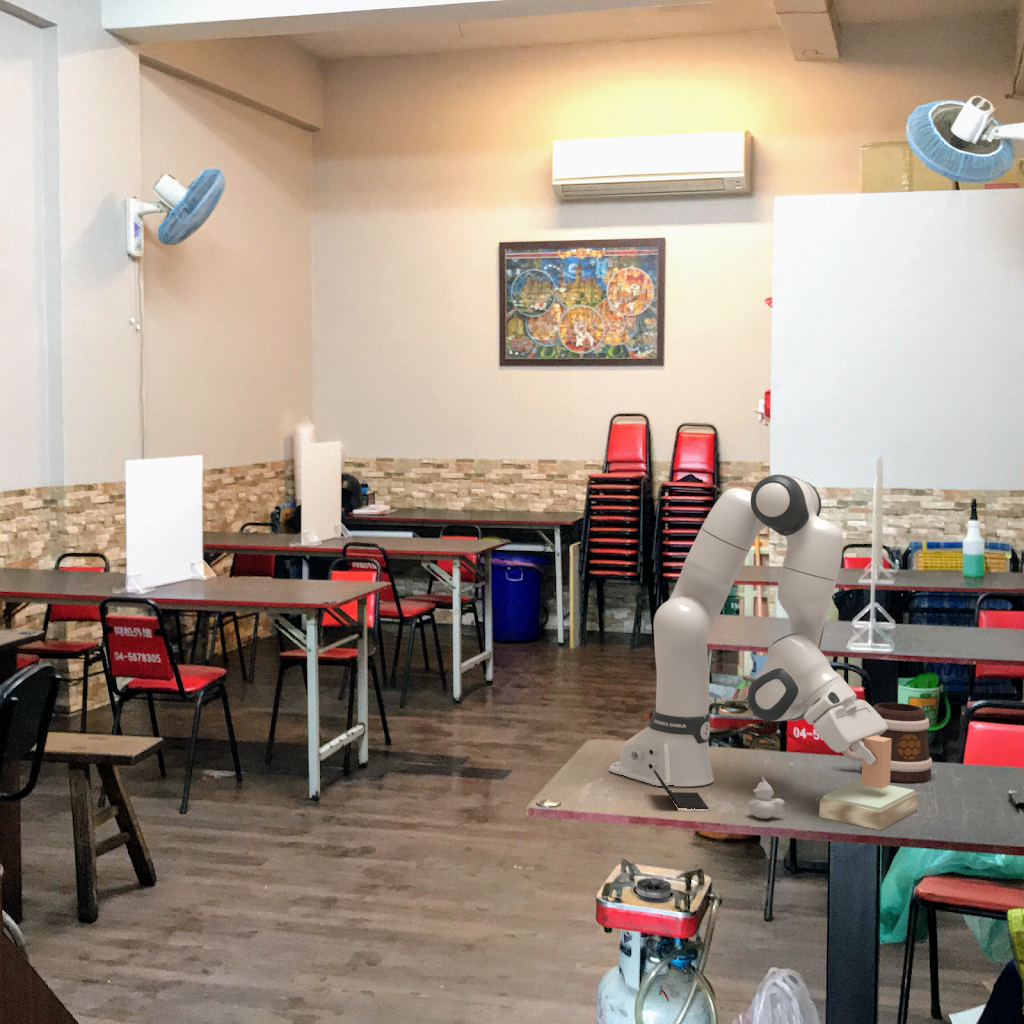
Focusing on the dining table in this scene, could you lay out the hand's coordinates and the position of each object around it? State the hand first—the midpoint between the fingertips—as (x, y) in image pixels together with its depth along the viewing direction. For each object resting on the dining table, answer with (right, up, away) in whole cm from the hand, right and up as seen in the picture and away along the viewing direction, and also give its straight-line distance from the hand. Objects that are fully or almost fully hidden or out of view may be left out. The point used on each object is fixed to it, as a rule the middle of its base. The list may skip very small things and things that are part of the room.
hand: (879, 760), depth 229 cm
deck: (-2, -11, +1) cm, 11 cm away
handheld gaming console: (-38, -10, +5) cm, 39 cm away
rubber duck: (-23, -10, -3) cm, 25 cm away
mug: (+11, -10, +32) cm, 36 cm away
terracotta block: (-1, -5, +1) cm, 5 cm away
